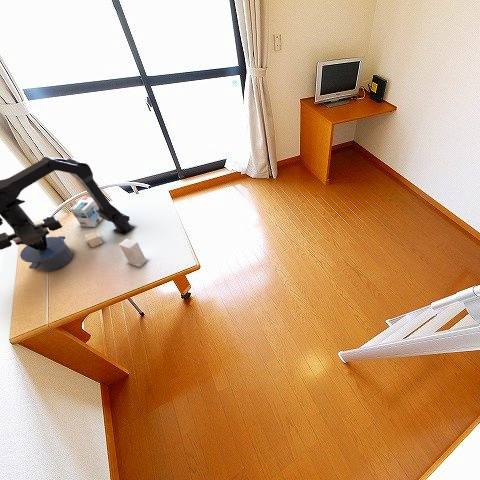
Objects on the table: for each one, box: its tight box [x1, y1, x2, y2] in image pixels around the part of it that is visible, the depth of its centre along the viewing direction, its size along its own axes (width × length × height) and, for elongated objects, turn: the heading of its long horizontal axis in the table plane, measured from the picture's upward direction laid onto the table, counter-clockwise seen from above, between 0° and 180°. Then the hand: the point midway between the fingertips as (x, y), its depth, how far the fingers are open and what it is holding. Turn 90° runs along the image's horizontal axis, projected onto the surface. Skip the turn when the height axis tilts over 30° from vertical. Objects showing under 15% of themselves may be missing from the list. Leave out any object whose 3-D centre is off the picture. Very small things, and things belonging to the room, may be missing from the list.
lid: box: [19, 236, 66, 264], centre depth 109 cm, size 14×14×6 cm
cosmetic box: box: [118, 238, 147, 268], centre depth 121 cm, size 6×4×12 cm
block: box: [83, 231, 103, 248], centre depth 129 cm, size 4×4×4 cm
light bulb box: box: [69, 196, 104, 228], centre depth 137 cm, size 11×7×11 cm, turn 179°
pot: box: [28, 235, 74, 272], centre depth 119 cm, size 13×18×6 cm
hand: (42, 247), depth 109 cm, fingers closed on lid, 2 cm apart
